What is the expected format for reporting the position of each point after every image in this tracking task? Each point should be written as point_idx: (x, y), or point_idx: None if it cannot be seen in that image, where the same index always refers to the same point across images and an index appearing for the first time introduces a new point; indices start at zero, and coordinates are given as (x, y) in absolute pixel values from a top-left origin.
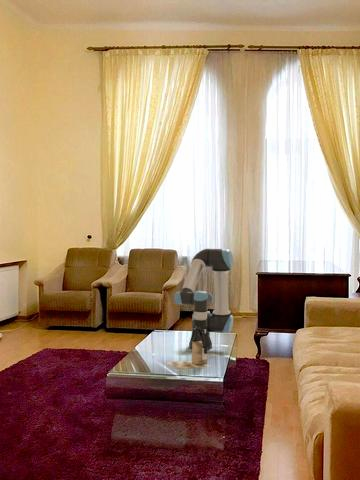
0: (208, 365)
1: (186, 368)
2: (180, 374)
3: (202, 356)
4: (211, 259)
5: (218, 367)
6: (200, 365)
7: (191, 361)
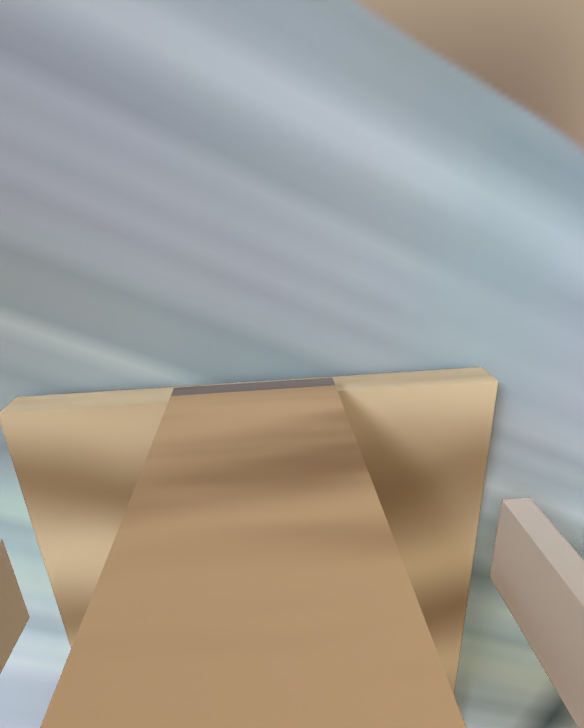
0: (434, 390)
1: (456, 674)
2: (532, 709)
3: (532, 629)
4: None
5: (448, 195)
6: (386, 498)
7: (110, 543)
